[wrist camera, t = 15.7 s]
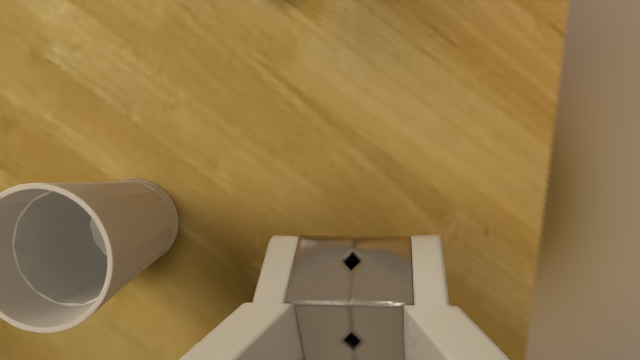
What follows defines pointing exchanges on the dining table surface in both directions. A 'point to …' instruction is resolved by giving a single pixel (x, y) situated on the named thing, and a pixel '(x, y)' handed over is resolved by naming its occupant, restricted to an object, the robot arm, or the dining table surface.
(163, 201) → the cup
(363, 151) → the dining table surface
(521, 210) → the dining table surface
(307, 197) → the dining table surface
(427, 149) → the dining table surface
